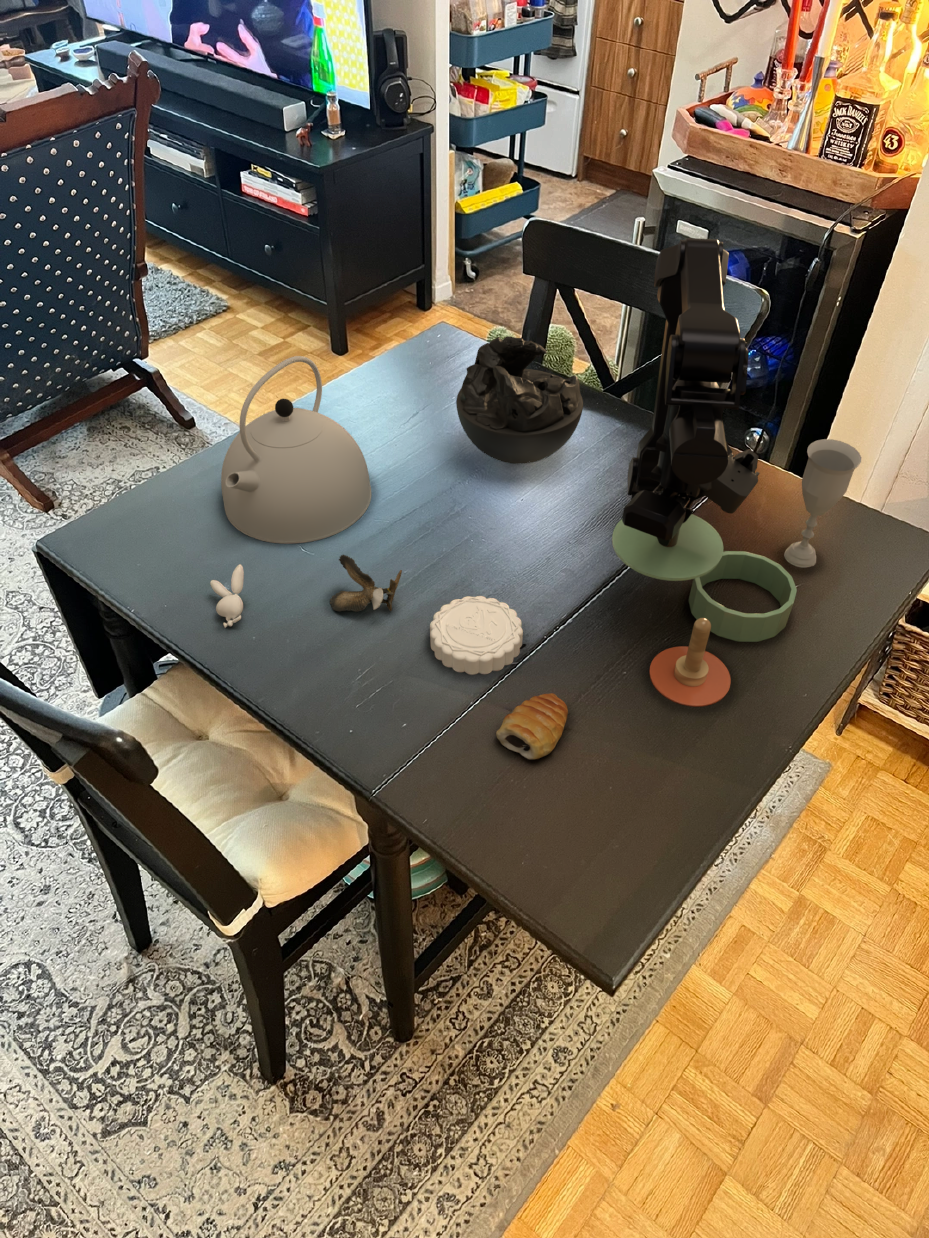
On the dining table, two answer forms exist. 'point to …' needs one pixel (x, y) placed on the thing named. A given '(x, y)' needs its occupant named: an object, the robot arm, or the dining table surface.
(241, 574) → the rabbit figurine
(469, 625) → the mooncake
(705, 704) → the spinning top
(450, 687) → the dining table surface
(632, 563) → the pot lid
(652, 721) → the dining table surface
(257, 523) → the kettle
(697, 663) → the pestle
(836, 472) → the chalice
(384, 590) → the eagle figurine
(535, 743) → the pastry
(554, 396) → the bowl of black rocks
